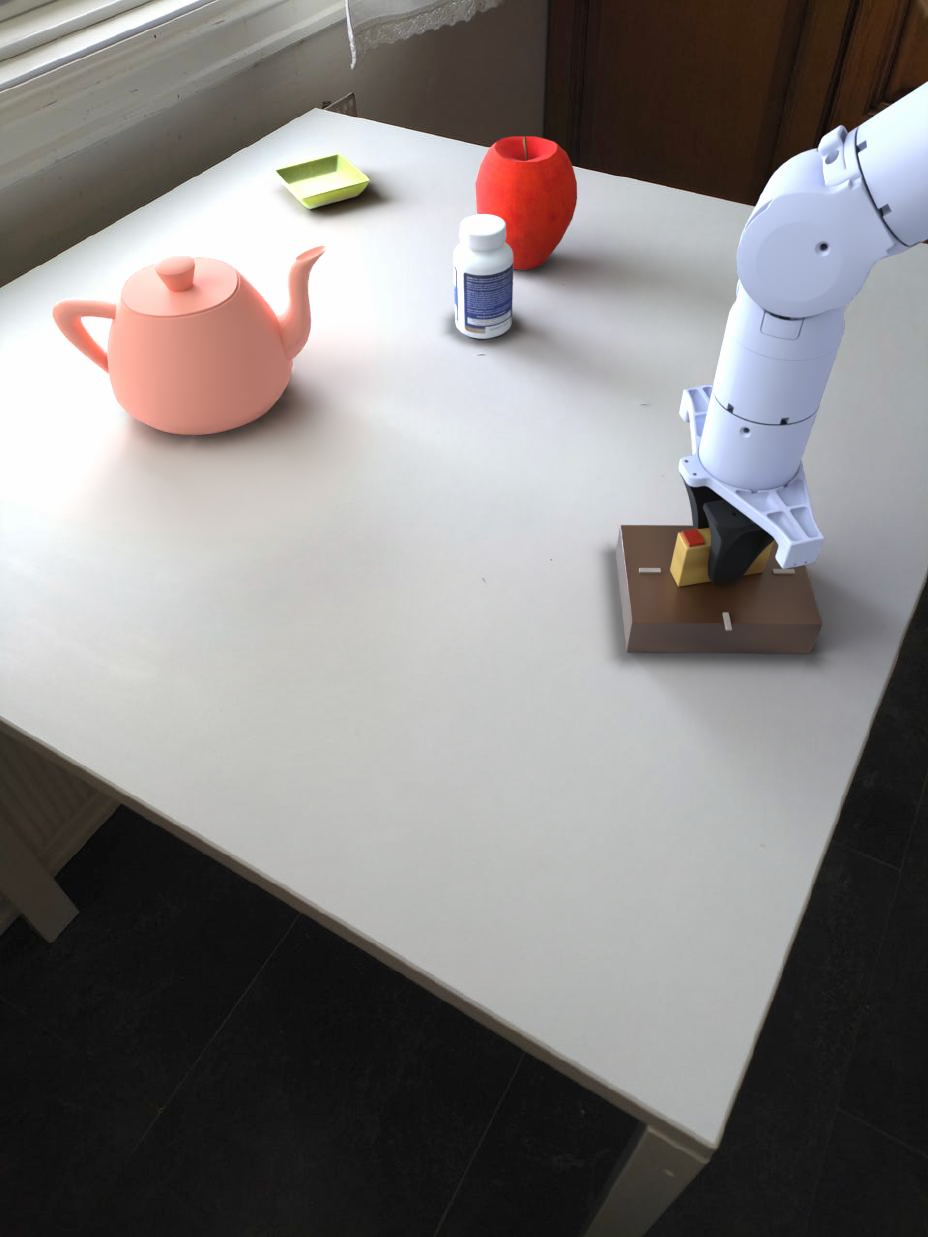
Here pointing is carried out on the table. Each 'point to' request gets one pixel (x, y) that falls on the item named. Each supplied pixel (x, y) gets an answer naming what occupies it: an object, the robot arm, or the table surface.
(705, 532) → the handle
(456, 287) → the pill bottle
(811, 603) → the lock plate
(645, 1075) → the table surface
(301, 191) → the green square tray
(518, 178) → the apple
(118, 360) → the teapot
